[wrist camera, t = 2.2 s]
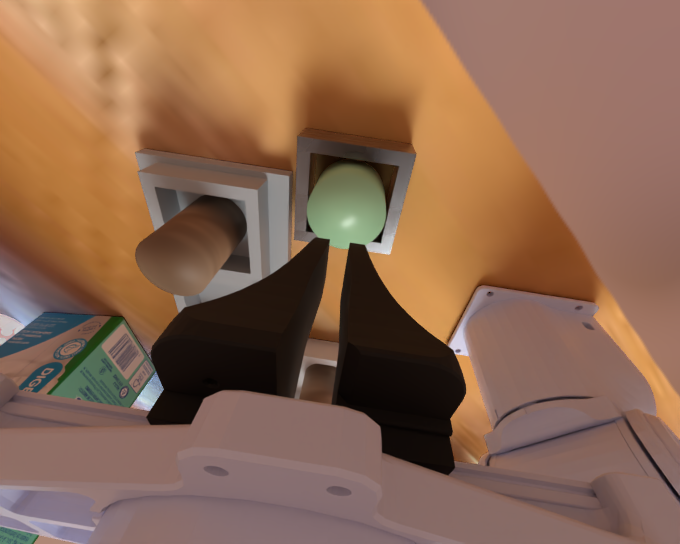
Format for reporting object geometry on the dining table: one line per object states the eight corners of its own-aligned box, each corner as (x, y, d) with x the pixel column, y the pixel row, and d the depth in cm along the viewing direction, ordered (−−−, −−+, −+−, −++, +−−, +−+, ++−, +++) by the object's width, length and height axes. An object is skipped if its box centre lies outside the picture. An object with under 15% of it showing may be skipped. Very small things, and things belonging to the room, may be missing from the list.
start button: (391, 165, 17) (394, 181, 15) (377, 230, 20) (377, 254, 17) (318, 153, 17) (308, 168, 15) (313, 220, 20) (304, 242, 17)
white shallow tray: (391, 351, 29) (392, 370, 27) (373, 402, 34) (373, 421, 33) (266, 331, 29) (258, 348, 27) (268, 385, 35) (262, 403, 33)
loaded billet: (244, 198, 20) (202, 243, 15) (248, 248, 22) (213, 301, 17) (187, 189, 20) (125, 230, 15) (197, 240, 22) (146, 290, 17)
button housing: (412, 144, 18) (416, 154, 16) (388, 237, 21) (389, 254, 19) (306, 127, 18) (297, 136, 16) (301, 223, 21) (294, 239, 20)
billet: (344, 366, 30) (338, 425, 25) (339, 388, 32) (333, 445, 27) (306, 360, 30) (292, 417, 25) (304, 382, 32) (291, 438, 28)
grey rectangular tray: (292, 171, 19) (280, 187, 17) (289, 326, 28) (281, 351, 26) (144, 148, 19) (111, 160, 17) (187, 310, 28) (170, 333, 26)
